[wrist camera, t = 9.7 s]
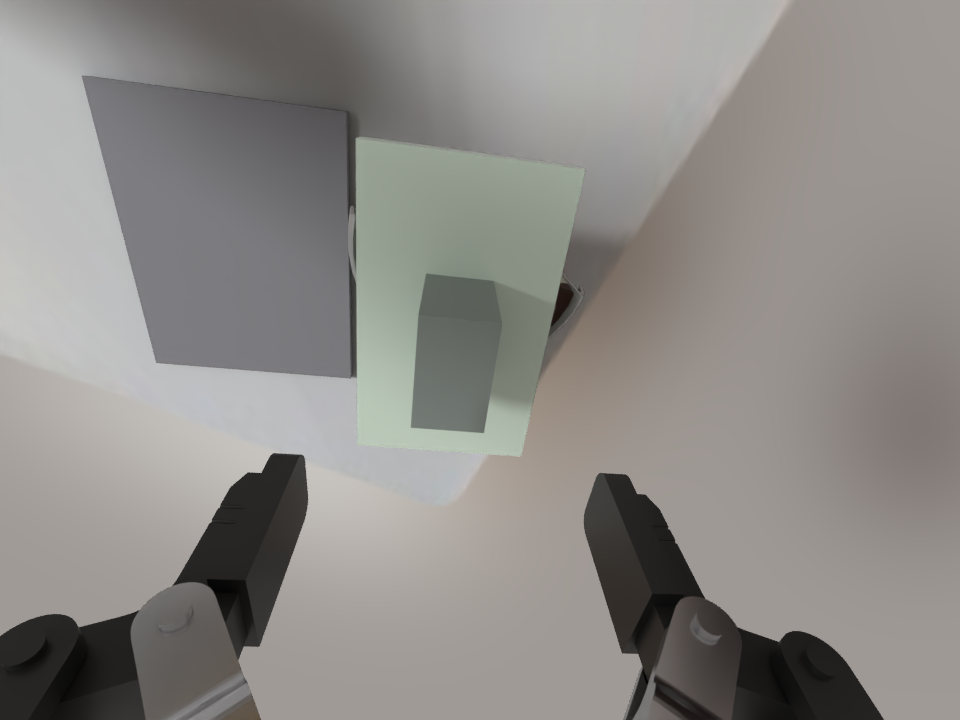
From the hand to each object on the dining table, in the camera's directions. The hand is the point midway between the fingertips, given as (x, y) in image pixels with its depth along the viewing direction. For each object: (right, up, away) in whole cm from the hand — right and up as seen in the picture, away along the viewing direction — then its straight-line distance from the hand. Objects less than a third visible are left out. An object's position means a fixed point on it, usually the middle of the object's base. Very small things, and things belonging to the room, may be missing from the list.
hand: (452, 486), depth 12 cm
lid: (-1, +6, +10) cm, 11 cm away
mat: (-15, +11, +18) cm, 25 cm away
